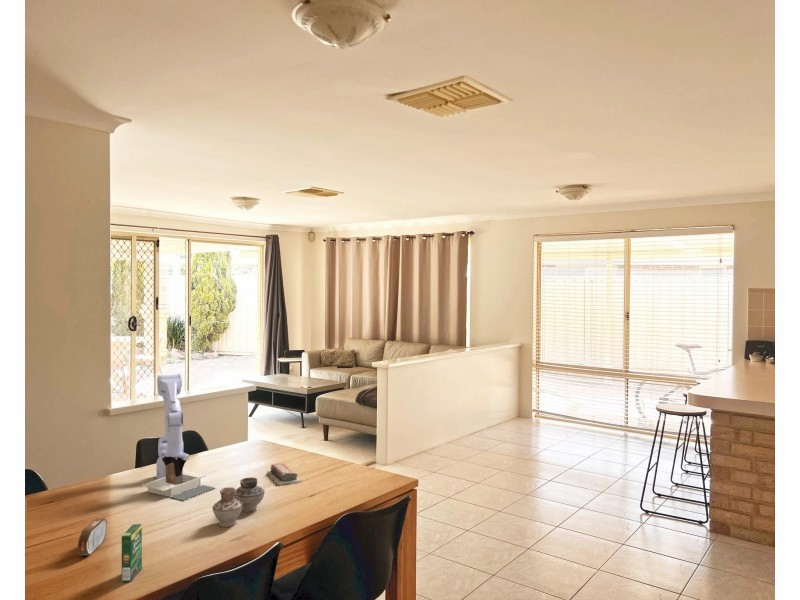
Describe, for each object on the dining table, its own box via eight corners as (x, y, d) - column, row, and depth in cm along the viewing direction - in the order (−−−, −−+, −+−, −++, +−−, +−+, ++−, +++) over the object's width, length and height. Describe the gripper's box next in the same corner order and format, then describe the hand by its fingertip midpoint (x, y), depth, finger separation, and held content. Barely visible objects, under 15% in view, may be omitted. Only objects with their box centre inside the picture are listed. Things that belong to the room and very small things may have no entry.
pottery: (205, 528, 194) (205, 493, 194) (242, 502, 218) (242, 470, 218) (235, 531, 191) (235, 496, 191) (269, 504, 216) (269, 473, 216)
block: (165, 482, 231) (165, 465, 231) (176, 478, 236) (175, 461, 235) (172, 484, 229) (172, 466, 229) (182, 480, 234) (182, 463, 233)
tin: (98, 539, 185) (98, 513, 185) (108, 538, 185) (108, 513, 185) (76, 561, 170) (76, 532, 170) (87, 560, 170) (87, 532, 170)
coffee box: (131, 582, 157) (131, 535, 157) (120, 583, 157) (120, 535, 157) (142, 568, 165) (142, 523, 165) (132, 568, 165) (132, 523, 165)
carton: (141, 493, 226) (141, 484, 226) (184, 478, 245) (184, 470, 245) (163, 499, 220) (163, 490, 220) (205, 483, 239) (206, 475, 239)
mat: (170, 498, 222) (170, 497, 222) (203, 485, 236) (203, 484, 236) (183, 501, 218) (183, 500, 218) (215, 488, 233) (215, 487, 233)
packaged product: (266, 463, 252) (288, 460, 257) (266, 474, 252) (288, 471, 257) (278, 475, 236) (301, 472, 241) (278, 487, 236) (301, 483, 241)
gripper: (154, 441, 232) (154, 474, 232) (178, 446, 225) (178, 480, 225) (168, 437, 238) (168, 470, 239) (193, 442, 231) (193, 475, 232)
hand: (174, 475), depth 232 cm, fingers closed on block, 4 cm apart
